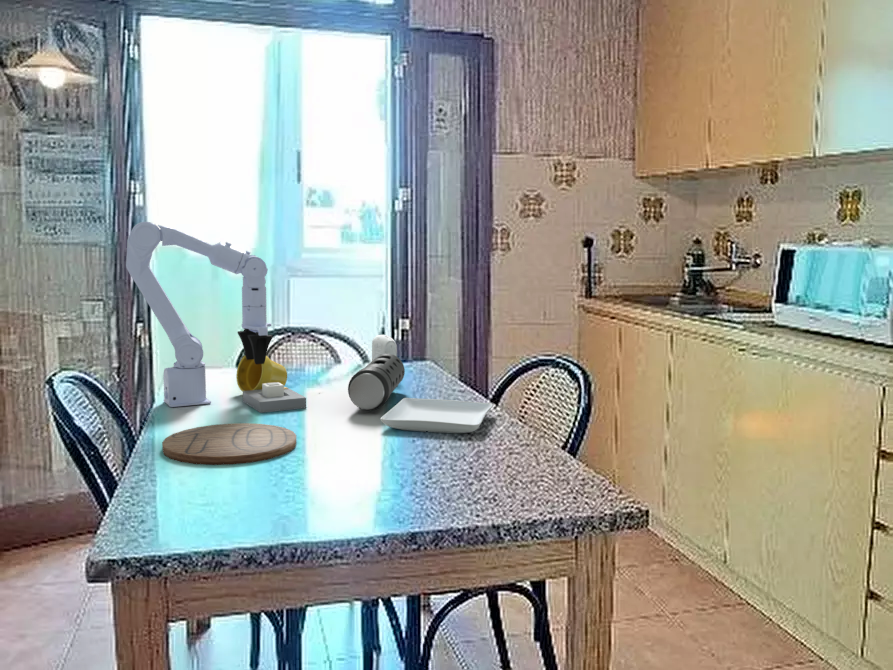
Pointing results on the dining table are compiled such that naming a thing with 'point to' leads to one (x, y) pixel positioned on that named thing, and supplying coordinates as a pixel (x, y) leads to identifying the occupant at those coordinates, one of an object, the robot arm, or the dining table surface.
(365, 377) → the muzzle brake
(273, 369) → the plant pot
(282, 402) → the socket plate
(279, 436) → the trivet
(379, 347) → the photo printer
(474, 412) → the salad plate
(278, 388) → the plug block
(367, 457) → the dining table surface
